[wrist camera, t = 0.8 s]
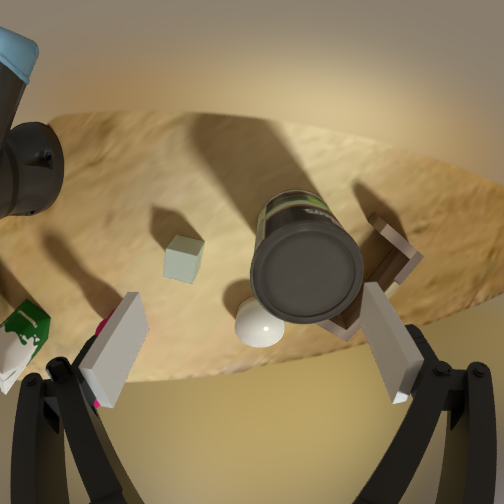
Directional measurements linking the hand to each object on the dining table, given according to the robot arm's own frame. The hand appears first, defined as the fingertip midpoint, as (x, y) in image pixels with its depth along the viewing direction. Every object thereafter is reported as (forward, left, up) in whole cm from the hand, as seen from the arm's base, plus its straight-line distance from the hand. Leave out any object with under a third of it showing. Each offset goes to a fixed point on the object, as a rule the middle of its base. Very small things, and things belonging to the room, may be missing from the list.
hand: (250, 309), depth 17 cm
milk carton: (-26, -44, -23) cm, 56 cm away
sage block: (-5, -11, -23) cm, 26 cm away
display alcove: (+16, 0, -23) cm, 28 cm away
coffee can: (+5, 0, -23) cm, 24 cm away
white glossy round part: (+9, -14, -23) cm, 29 cm away
